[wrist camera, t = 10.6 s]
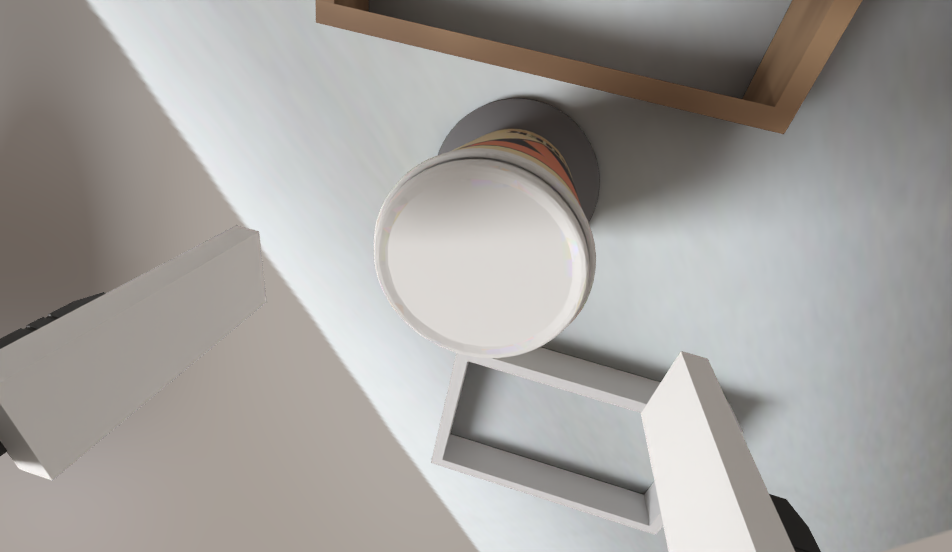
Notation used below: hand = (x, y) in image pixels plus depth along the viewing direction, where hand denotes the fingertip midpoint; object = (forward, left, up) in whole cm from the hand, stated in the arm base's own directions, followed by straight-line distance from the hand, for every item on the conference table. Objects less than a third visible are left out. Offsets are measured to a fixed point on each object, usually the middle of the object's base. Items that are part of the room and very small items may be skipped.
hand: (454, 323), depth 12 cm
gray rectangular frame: (+20, +10, -17) cm, 28 cm away
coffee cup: (0, 0, -16) cm, 16 cm away
